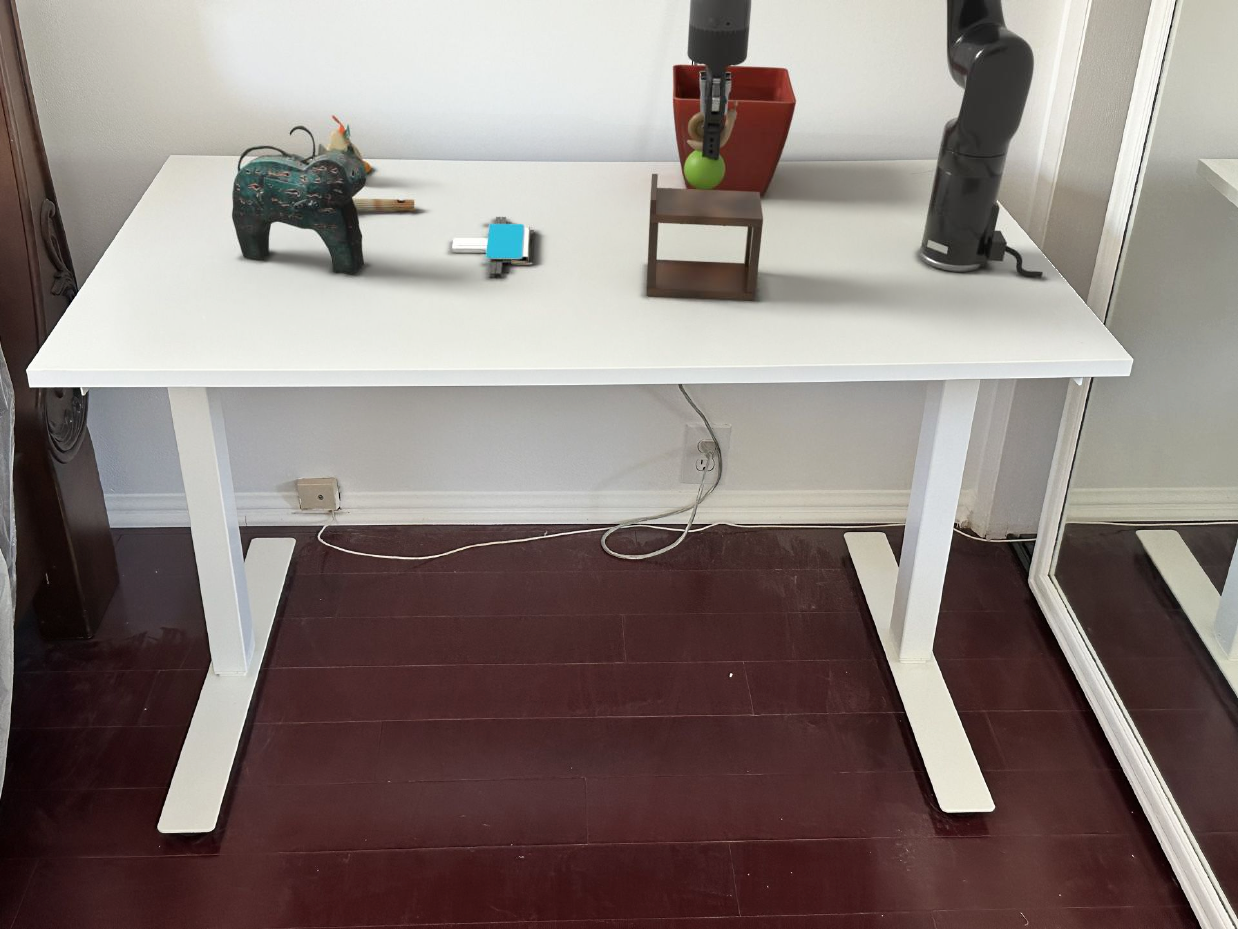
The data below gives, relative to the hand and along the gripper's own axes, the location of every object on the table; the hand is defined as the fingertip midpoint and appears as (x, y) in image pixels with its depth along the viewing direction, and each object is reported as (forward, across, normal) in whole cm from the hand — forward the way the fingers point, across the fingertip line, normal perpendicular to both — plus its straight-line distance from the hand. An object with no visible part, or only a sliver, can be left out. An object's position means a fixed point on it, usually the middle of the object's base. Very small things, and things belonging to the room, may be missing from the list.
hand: (710, 155), depth 155 cm
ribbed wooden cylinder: (+19, +20, +55) cm, 61 cm away
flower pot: (+19, +39, -4) cm, 43 cm away
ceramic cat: (+19, +1, +57) cm, 60 cm away
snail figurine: (+5, 0, 0) cm, 5 cm away
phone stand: (+19, +9, +31) cm, 37 cm away
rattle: (+19, +34, +57) cm, 68 cm away
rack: (+19, 0, 0) cm, 19 cm away
